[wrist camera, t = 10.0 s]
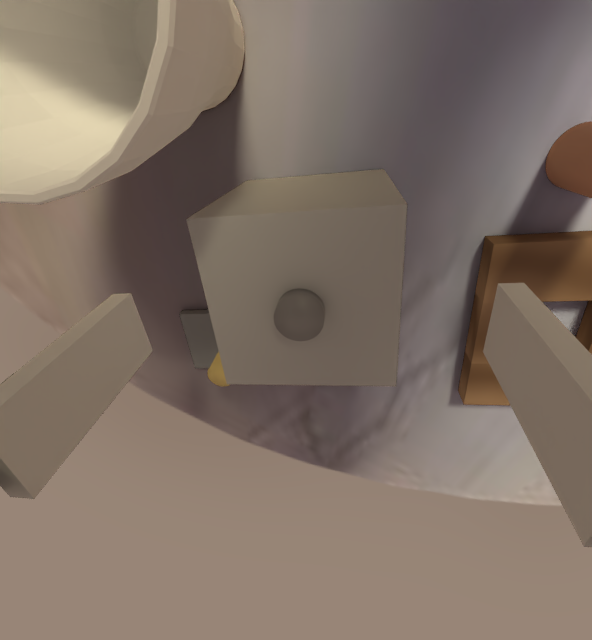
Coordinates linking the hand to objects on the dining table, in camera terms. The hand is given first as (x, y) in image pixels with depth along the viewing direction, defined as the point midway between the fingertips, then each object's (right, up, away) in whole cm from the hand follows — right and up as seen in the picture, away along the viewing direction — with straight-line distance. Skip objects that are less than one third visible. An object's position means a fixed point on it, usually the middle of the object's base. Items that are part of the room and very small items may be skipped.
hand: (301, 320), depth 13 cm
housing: (+1, +5, +9) cm, 11 cm away
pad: (-6, -1, +14) cm, 16 cm away
